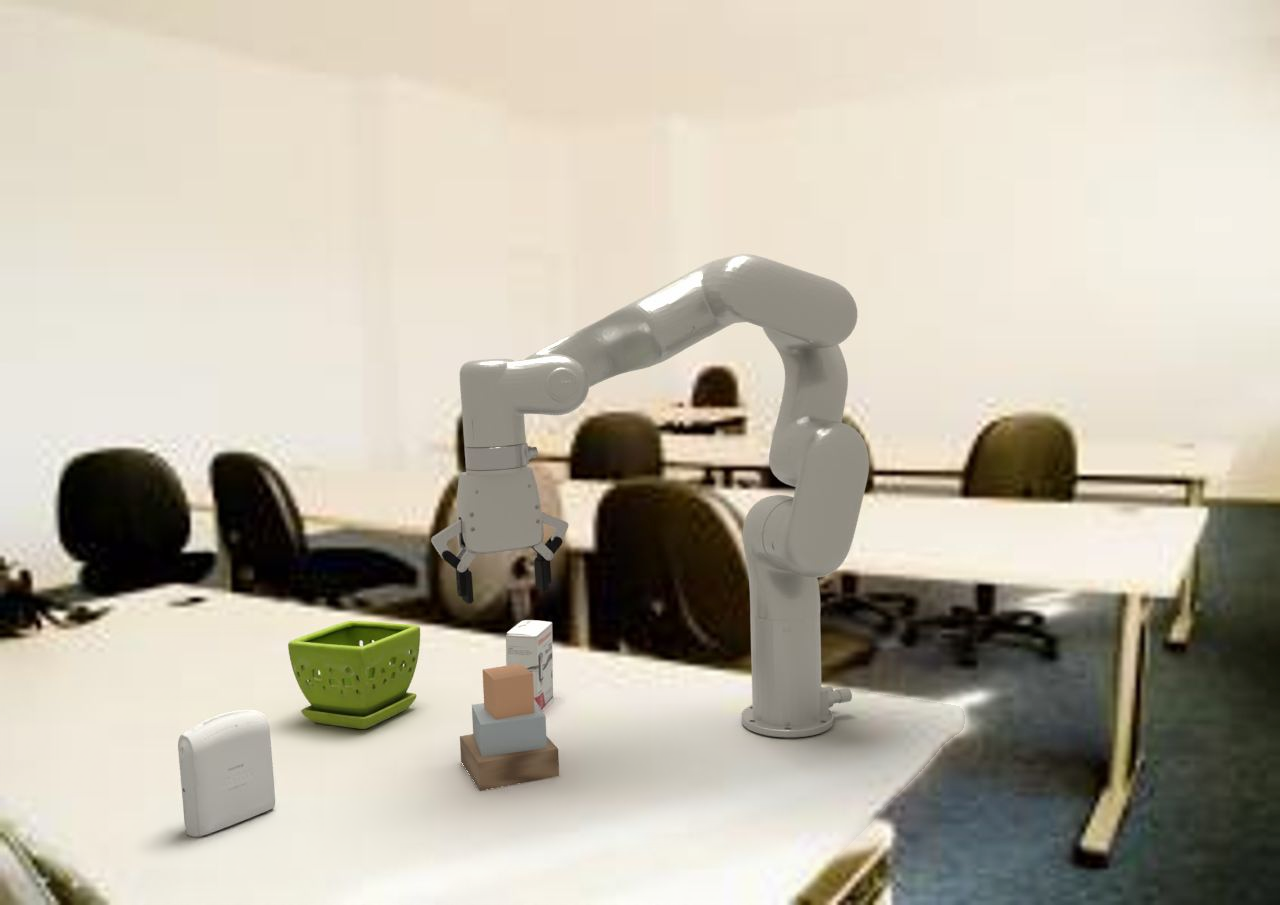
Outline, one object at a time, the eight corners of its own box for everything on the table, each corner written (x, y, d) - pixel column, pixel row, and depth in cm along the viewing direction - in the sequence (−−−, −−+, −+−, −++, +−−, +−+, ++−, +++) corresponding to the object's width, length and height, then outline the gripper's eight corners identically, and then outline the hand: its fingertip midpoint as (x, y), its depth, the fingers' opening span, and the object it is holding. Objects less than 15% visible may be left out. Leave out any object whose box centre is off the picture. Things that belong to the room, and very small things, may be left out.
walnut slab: (536, 753, 141) (534, 723, 140) (559, 780, 131) (558, 748, 131) (461, 766, 137) (459, 736, 136) (480, 795, 128) (478, 762, 127)
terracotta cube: (521, 701, 137) (520, 663, 136) (534, 712, 132) (533, 673, 132) (484, 707, 135) (482, 669, 134) (495, 719, 130) (494, 679, 130)
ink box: (539, 715, 154) (536, 634, 153) (506, 713, 155) (502, 633, 154) (556, 696, 162) (552, 619, 161) (524, 694, 163) (521, 618, 162)
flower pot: (428, 707, 159) (423, 624, 158) (367, 739, 146) (362, 649, 145) (353, 697, 165) (348, 617, 164) (289, 727, 152) (283, 640, 151)
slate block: (534, 726, 139) (533, 697, 139) (546, 748, 131) (545, 716, 131) (473, 735, 137) (471, 704, 136) (482, 756, 129) (480, 724, 129)
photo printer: (197, 841, 116) (189, 732, 115) (178, 831, 119) (170, 724, 118) (281, 809, 124) (275, 706, 123) (262, 800, 127) (255, 699, 126)
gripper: (552, 451, 138) (561, 581, 140) (419, 463, 131) (430, 600, 133) (572, 455, 131) (581, 591, 133) (433, 469, 124) (444, 612, 126)
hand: (505, 595), depth 133 cm, fingers open, 9 cm apart
